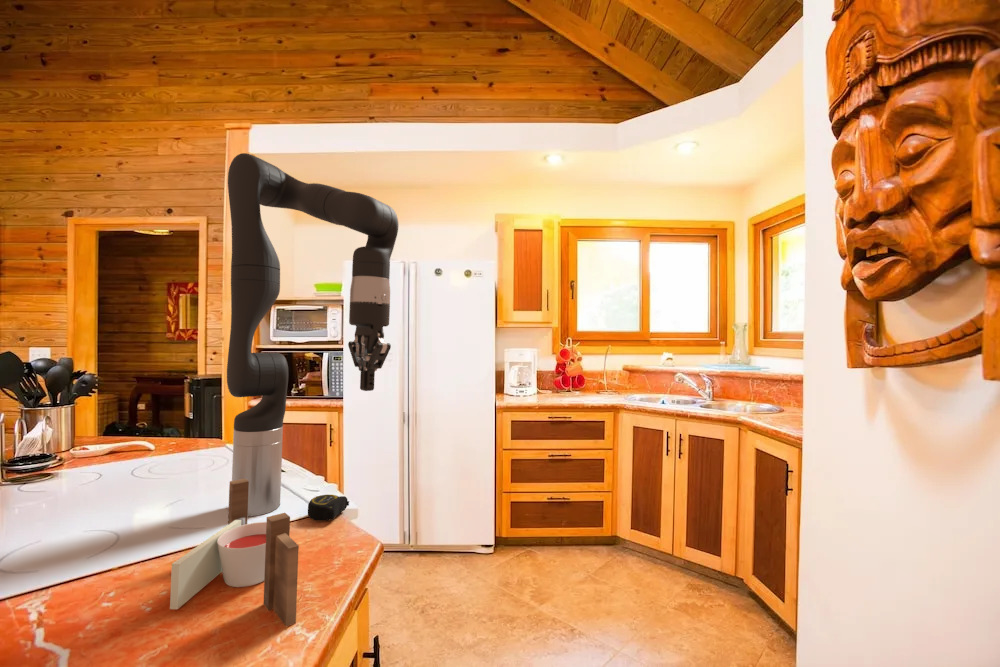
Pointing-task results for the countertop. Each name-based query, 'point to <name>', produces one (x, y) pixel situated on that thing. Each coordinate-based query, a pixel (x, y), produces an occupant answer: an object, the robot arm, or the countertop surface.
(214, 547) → the door
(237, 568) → the candle
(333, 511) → the tape measure
